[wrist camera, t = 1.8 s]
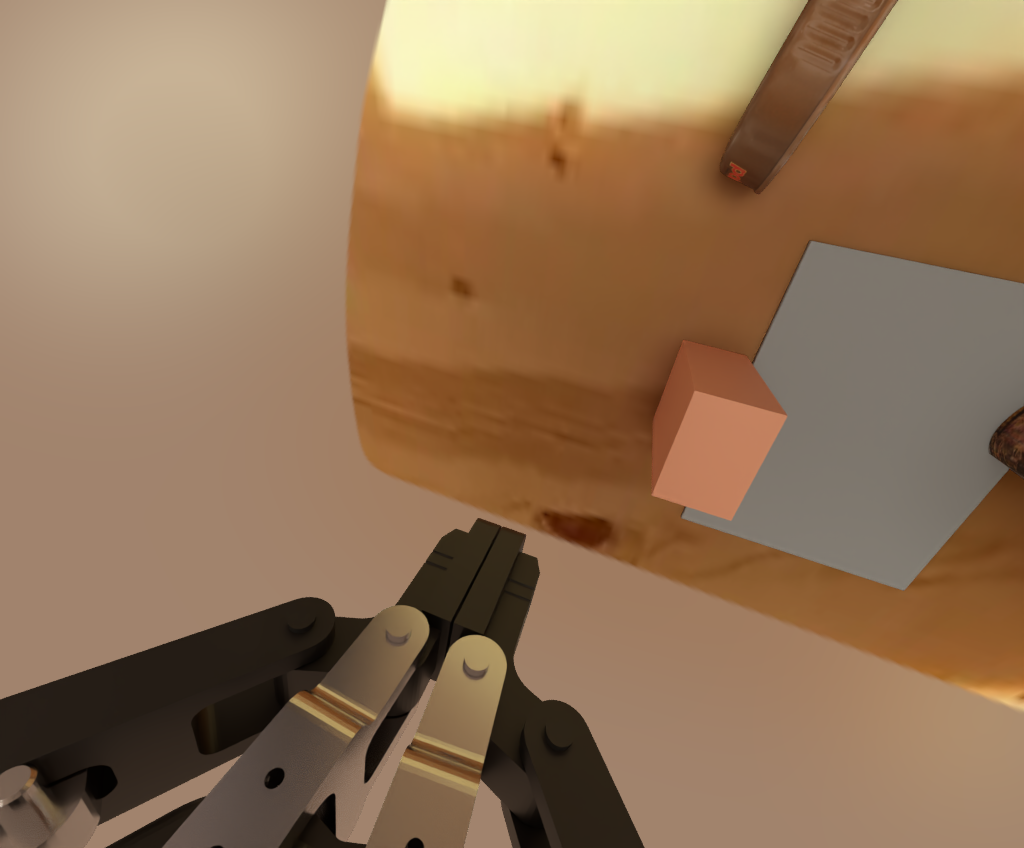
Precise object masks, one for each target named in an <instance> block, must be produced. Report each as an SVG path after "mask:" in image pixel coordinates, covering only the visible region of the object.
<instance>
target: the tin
mask: <svg viewBox="0 0 1024 848" xmlns="http://www.w3.org/2000/svg"><path fill="white" fill-rule="evenodd" d="M897 1H898V0H808V2H807V4H806V6H805V8H804V9H803V11H802V13H801V14H800V16H799V18H798V20H797V21H796V23H795V25H794V26H793V28H792V30H791V32H790V33H789V35H788V37H787V39H786V40H785V42H784V44H783V45H782V47H781V49H780V51H779V52H778V54H777V56H776V58H775V59H774V61H773V63H772V64H771V66H770V68H769V70H768V71H767V73H766V75H765V77H764V79H763V80H762V82H761V84H760V86H759V87H758V89H757V91H756V93H755V94H754V96H753V98H752V100H751V101H750V103H749V105H748V107H747V108H746V110H745V112H744V114H743V116H742V117H741V119H740V121H739V123H738V125H737V127H736V129H735V131H734V133H733V134H732V136H731V138H730V140H729V142H728V145H727V147H726V150H725V153H724V155H723V157H722V159H721V163H720V171H721V172H722V173H723V174H724V175H726V176H728V177H730V178H732V179H734V180H736V181H738V182H740V183H742V184H744V185H746V186H748V187H750V188H752V189H754V192H755V193H756V194H760V193H761V192H762V191H763V190H764V189H765V188H766V187H767V186H768V184H769V183H770V182H771V181H772V180H773V178H774V177H775V176H776V175H777V173H778V172H779V171H780V169H781V168H782V167H783V166H784V165H785V163H786V162H787V160H788V159H789V158H790V156H791V155H792V154H793V152H794V151H795V149H796V148H797V147H798V145H799V144H800V142H801V141H802V140H803V138H804V137H805V135H806V134H807V132H808V131H809V130H810V128H811V127H812V126H813V124H814V123H815V121H816V120H817V119H818V117H819V116H820V114H821V113H822V112H823V110H824V109H825V107H826V105H827V104H828V102H829V101H830V100H831V98H832V97H833V96H834V94H835V93H836V91H837V90H838V88H839V87H840V86H841V84H842V82H843V81H844V79H845V78H846V76H847V75H848V73H849V72H850V71H851V69H852V68H853V66H854V65H855V63H856V62H857V60H858V59H859V57H860V56H861V54H862V53H863V51H864V50H865V48H866V47H867V45H868V44H869V42H870V41H871V39H872V38H873V36H874V35H875V34H876V32H877V31H878V29H879V28H880V26H881V25H882V23H883V22H884V20H885V19H886V17H887V15H888V14H889V12H890V11H891V9H892V8H893V7H894V5H895V4H896V2H897Z"/></svg>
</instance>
